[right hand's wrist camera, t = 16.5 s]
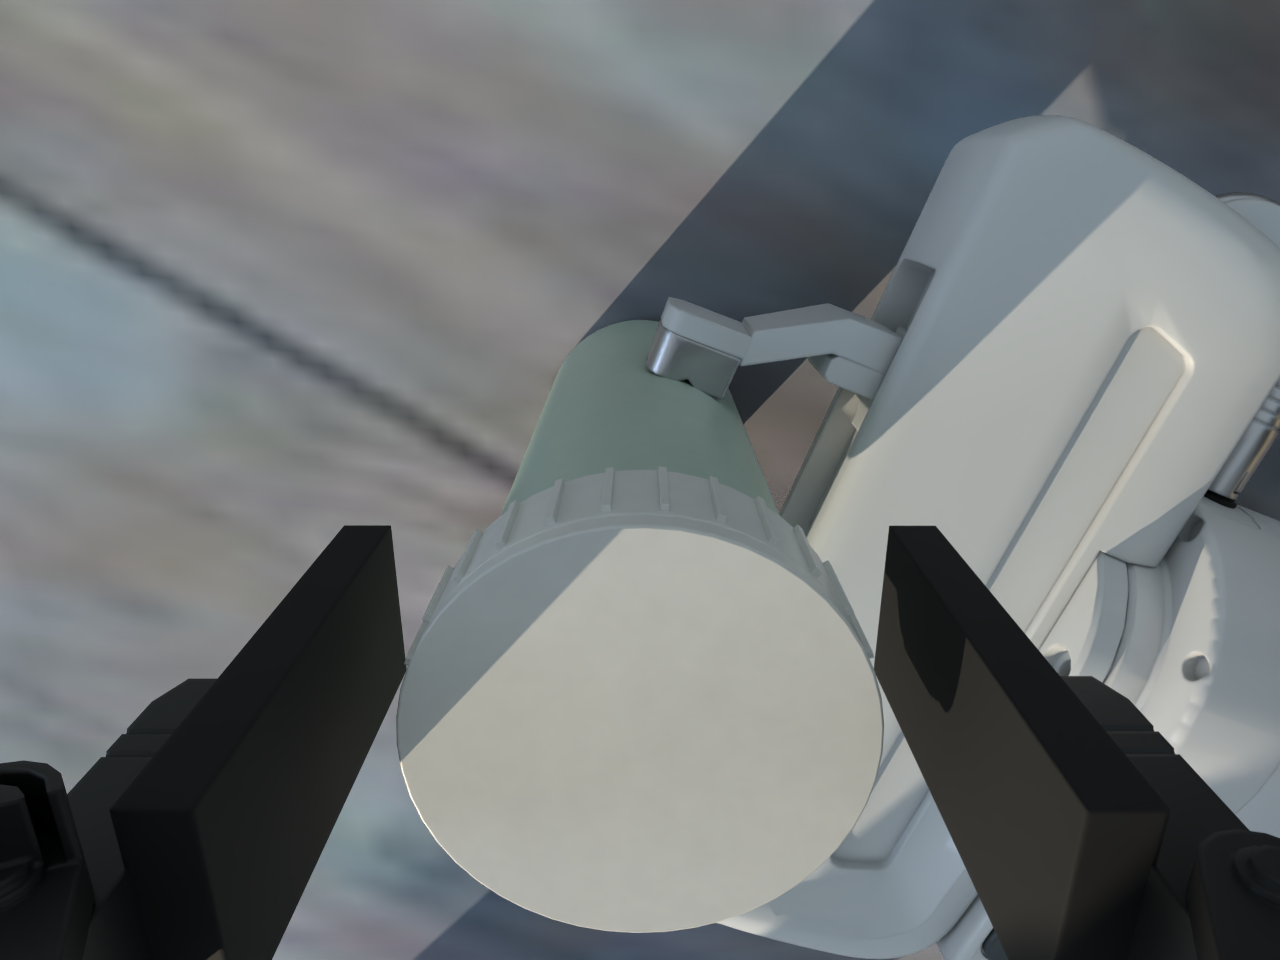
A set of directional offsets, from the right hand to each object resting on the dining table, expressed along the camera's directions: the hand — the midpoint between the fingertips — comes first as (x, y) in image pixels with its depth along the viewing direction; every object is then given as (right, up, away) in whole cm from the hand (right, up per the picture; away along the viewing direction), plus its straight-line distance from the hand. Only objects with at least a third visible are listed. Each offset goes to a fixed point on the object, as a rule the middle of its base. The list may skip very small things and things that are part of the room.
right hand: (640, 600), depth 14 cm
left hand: (-1, +2, +5) cm, 6 cm away
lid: (0, -1, -3) cm, 4 cm away
